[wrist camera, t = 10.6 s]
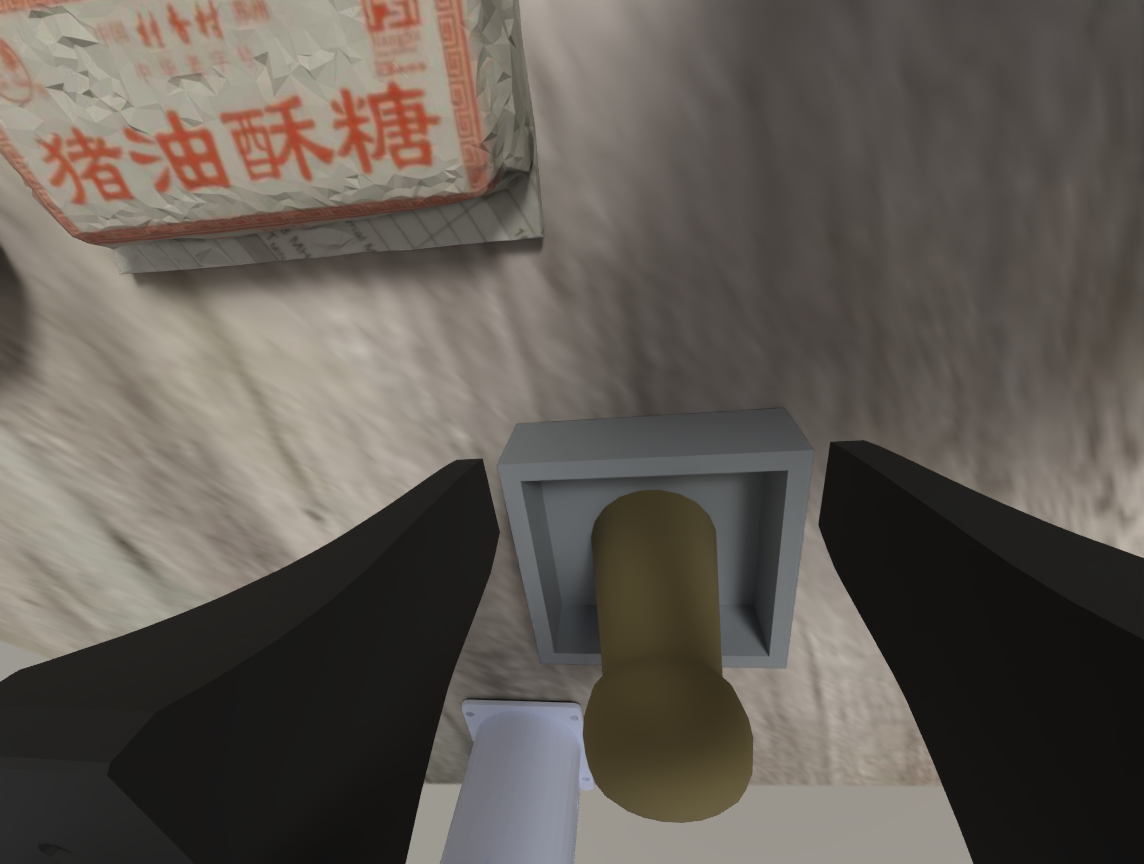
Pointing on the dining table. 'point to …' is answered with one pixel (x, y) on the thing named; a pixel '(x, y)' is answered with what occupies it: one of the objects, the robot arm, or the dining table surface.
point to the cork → (662, 665)
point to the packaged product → (270, 125)
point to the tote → (676, 464)
